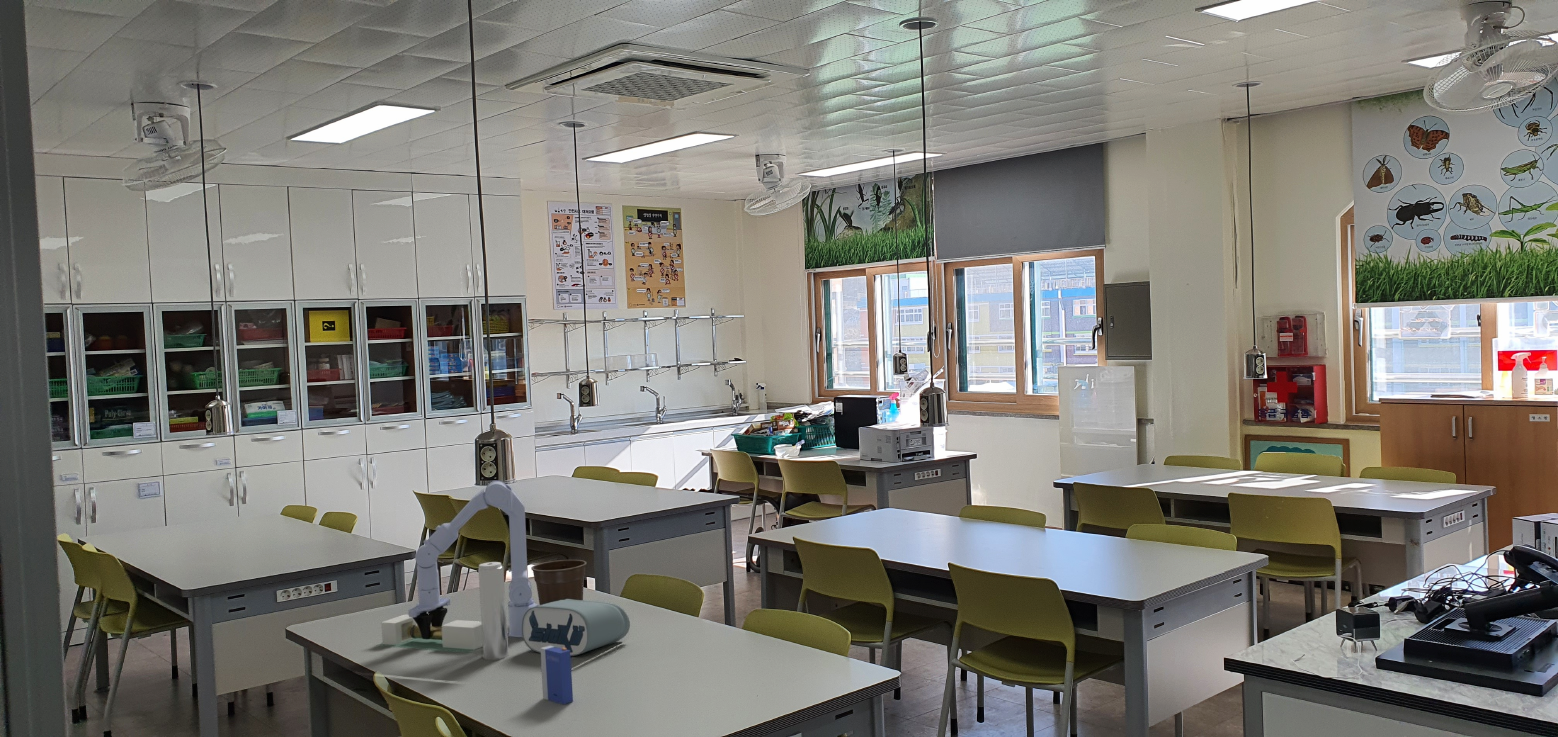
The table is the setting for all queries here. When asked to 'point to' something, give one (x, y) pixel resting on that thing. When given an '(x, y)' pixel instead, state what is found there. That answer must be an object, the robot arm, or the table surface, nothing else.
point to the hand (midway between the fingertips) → (431, 636)
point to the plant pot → (559, 580)
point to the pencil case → (574, 625)
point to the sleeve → (462, 634)
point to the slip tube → (415, 632)
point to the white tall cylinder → (493, 610)
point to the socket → (396, 630)
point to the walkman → (556, 674)
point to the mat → (427, 645)
